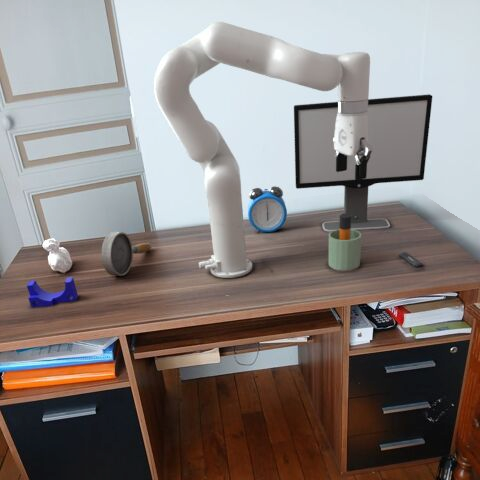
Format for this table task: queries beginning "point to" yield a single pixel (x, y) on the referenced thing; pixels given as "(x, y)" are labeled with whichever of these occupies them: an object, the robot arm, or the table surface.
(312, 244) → the table surface
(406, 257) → the usb stick
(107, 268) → the frying pan
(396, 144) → the computer monitor
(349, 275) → the table surface
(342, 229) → the marker
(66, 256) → the bust
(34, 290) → the blue cradle stand
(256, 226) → the alarm clock
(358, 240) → the pen holder
